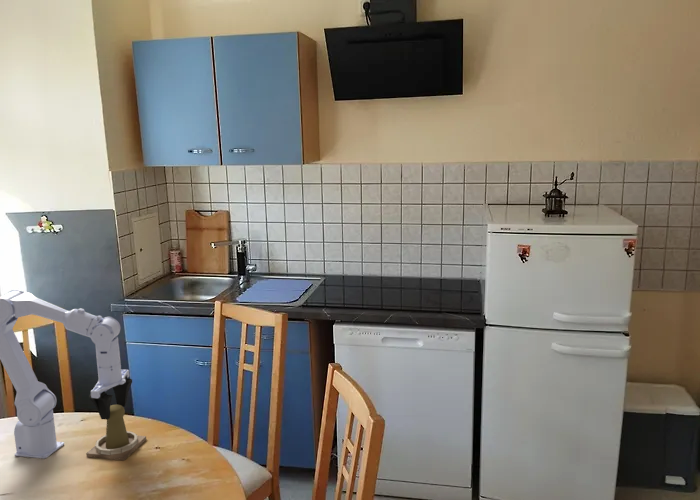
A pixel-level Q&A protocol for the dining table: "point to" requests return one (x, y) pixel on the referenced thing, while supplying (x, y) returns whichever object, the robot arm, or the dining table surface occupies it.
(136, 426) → the dining table surface
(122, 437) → the cork
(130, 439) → the cup holder
